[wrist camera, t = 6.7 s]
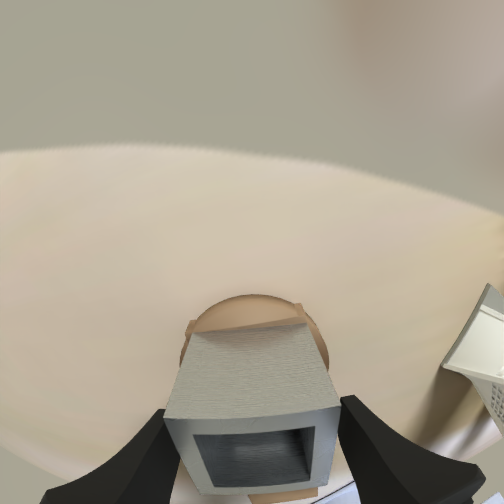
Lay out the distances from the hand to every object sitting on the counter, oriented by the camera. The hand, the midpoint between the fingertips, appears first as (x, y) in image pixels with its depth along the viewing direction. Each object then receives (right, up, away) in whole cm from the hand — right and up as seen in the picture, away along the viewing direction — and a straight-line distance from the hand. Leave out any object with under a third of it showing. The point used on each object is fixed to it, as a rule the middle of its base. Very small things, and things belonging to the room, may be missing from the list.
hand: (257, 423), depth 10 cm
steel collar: (0, +1, +4) cm, 4 cm away
